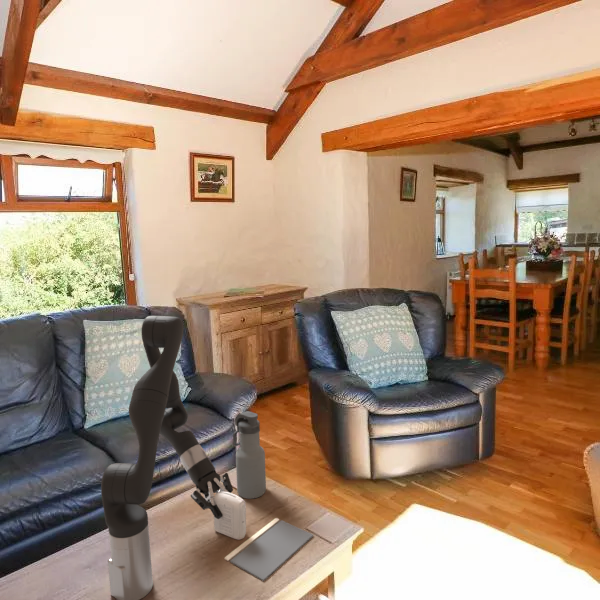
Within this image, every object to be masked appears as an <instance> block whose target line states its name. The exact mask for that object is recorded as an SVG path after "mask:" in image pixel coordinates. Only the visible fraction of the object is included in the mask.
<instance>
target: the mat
mask: <svg viewBox="0 0 600 600" xmlns="http://www.w3.org/2000/svg"><path fill="white" fill-rule="evenodd" d="M313 537H314V534H313V533H311V532H308V531H306V530H304V529H302V528H300V527H298V526H295V525H294V524H291V523H289V522H287V521H285V520H282V519H279V518H278V517H275V518H274V519H272V521H270V522H269V523H267V524H266V525H265V526H263V527H262V528H261V529H260V530H258V531H257V532H255V533H254V534H253V535H252V536H250V537H249V538H248V539H247V540H245V541H244V542H242V543H241V544H240V545H239V546H237V547H236V548H235V549H233V550H232V551H231V552H230V553H229V554H227V555H226V556H224V560H225V561H227V562H230V563H231V564H232V565H233V566H236V567H238V568H239V569H241V570H243V571H244V572H247V574H250V575H251V576H253V577H255V578H257V579H258V580H260V581H261V582H265V581H266V580H267V579H268V578H269V577H270V576H272V574H273V573H275V572H276V571H277V570H278V569H279V568H280V567H281V566H283V564H285V563H286V562H287V561H289V559H291V557H292V556H293V555H294V554H296V553H297V552H298V551H299V550H300V549H301V548H302V547H303V546H304V545H305V544H307V542H309V541H310V540H311V539H312V538H313Z"/></svg>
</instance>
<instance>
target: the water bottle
mask: <svg viewBox="0 0 600 600" xmlns="http://www.w3.org/2000/svg"><path fill="white" fill-rule="evenodd" d="M258 416H259V415H258V413H255V412H253V411H248V410H246V411H244V412H241V413H239V414H237V415H236V416H235V418H234V425H235V427H236V430H235V431H234V432H233V434H232V438H233V439H232V443H233V446H236V447H237V446H240V447H239V448H238V449H237V450H236V453H235V464H236V465H235V468H236V489H237V495H239V497H240V498H242V499H243V498H244V499H248V500H250V499H253V500H254V499H256V498H257V499H258V498H259V497H262V496H263V495H264V494H265V493H266V491H267V479H266V474H267V472H266V452H265V449H264V448H263V447H262V446H261V445H260V444H261V443H260V431H261V429H260V428H261V427H260V425H261V422H260V421H259V419H258V418H259V417H258ZM238 433H239V442H236V440H237V439H236V436H237V434H238Z"/></svg>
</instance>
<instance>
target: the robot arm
mask: <svg viewBox="0 0 600 600" xmlns="http://www.w3.org/2000/svg"><path fill="white" fill-rule="evenodd" d="M184 328H185V327H184V322H183V320H182V318H180V317H178V316H167V315H165V316H164V315H148V316H146V317H145V318H144V320H143V321H142V324H141V331H140V332H141V342H142V345H143V348H144V352H145V354H146V359H147V361H148V364H149V367H150V368H149V369H148V370H147V371H146V372H145V373H144V374H143V375H142V376H141V377H140V378H139V379H138V381H137V382H136V384H135V385H134V387H133V389H132V393H131V398H130V402H129V407H128V414H129V415H128V416H129V419H130V422H131V424H132V427H133V430H134V432H135V435H136V438H137V442H138V458H137V462H136V463H131V462H129V463H127V462H124V463H123V462H121V463H119V462H116V463H115V462H114V463H111V464H110V465H108V466H107V467H106V468H105V470H104V472H103V474H102V478H101V484H100V493H101V500H102V506H103V514H104V520H105V525H106V526H107V529H108V538H109V539H108V540H109V551H110V552H109V553H110V558H109V559H108V560H107V566H108V567H107V569H108V578H109V587H110V588H109V589H110V595H111V596H112V597H113V598H114V599H116V600H141V599H143V598H144V597H146V596H147V595H148V594H149V593H150V592H151V590H152V588H153V585H154V583H153V567H152V554H151V553H152V552H151V544H150V543H151V542H150V541H151V540H150V527H149V517H148V512H147V510H146V508H144V507H142V506H141V505H143V504H144V503H145V502H146V501H147V500H148V498H149V496H150V492H151V490H152V485H153V480H154V475H155V467H156V465H155V464H156V459H157V451H158V445H159V439H160V436H161V437H163V438H164V440H166V441H167V442H168V443H169V444H170V445H171V446H172V447H173V449H174V451H175V452H176V454H177V456H178V458H179V459H180V461H181V464H182V466H183V468H184V470H185V471H186V473H187V475H188V477H189V478H190V480H191V481H192V483H193V484H194V485H195V490H194V491H193V492H192V493H191V494H190V498H191V499H192V500H193V501H194V502H195V503H196V504H197V505H198V506H199V507H200V508H201V509H202V510H204V511H205V510H208V509H209V510H210V512H211V513H212V515H213V518H214V517H215V518H217V519H220V518H221V517H222V516H223V515H222V513H221V511H220V510H219V508H218V506H217V505H215V501H214V496H215V494H216V493H218V492H229V493H233V491H234V489H233V488H234V487H233V484H232V482H231V479H230V476H229V474H228V472H225V473H224V474H219V473H218V472H217V471H216V467H215V465H214V464H213V462H212V461H211V459H210V456H208V455H207V453H206V451H205V450H204V448H203V447H202V445H201V444H200V442H199V441H198V439H197V438H196V436H195V434H194V433H193V432H192V431H191V430H185V431H179V432H178V431H176V430H177V429H179V428H180V427H182V426H184V425H186V423H187V422H188V419H189V416H188V412H187V410H186V408H185V406H184V404H183V401H182V398H181V392H180V383H179V379H178V376H177V374H176V372H175V371H174V369H175V364H176V361H177V357H178V355H179V351H180V348H181V344H182V342H183V341H182V340H183V337H184ZM160 348H161V349H163V350H162V351H161V350H160Z"/></svg>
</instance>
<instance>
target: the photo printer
mask: <svg viewBox="0 0 600 600" xmlns="http://www.w3.org/2000/svg"><path fill="white" fill-rule="evenodd" d="M214 501H215V505H217V506H218V508H219V510H220V511H221V513H222V515H223V516H222V517H221V518H220V519H217V518H215V517H214V516H213V530H214V531H215V532H217V533H219V534H222V535H225V536H227V537H230V538H231V539H235V540H243V539H244V538H245V537H246V534H247V511H246V510H247V508H246V501H245V499H243V497H241V496H240V495H239V496H238V494H234V493H233V492H231V493H229V492H218V493H214Z"/></svg>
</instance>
